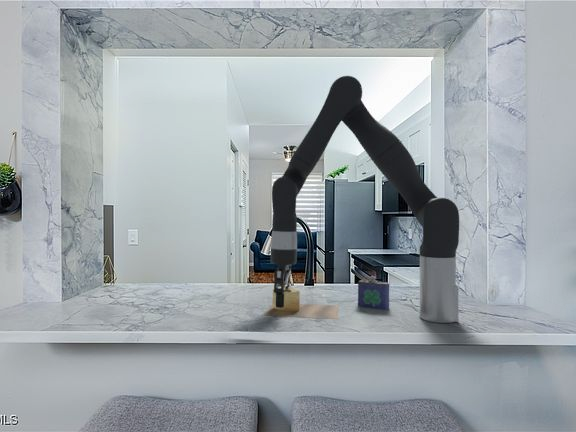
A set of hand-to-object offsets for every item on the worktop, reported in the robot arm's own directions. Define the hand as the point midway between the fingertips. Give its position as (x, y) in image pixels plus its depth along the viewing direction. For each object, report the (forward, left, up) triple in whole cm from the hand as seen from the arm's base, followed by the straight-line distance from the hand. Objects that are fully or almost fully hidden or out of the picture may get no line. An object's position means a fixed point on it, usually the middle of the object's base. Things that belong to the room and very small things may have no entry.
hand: (282, 303), depth 100 cm
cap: (-1, 0, -2) cm, 2 cm away
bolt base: (-6, 0, -3) cm, 7 cm away
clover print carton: (-26, -7, -3) cm, 27 cm away
